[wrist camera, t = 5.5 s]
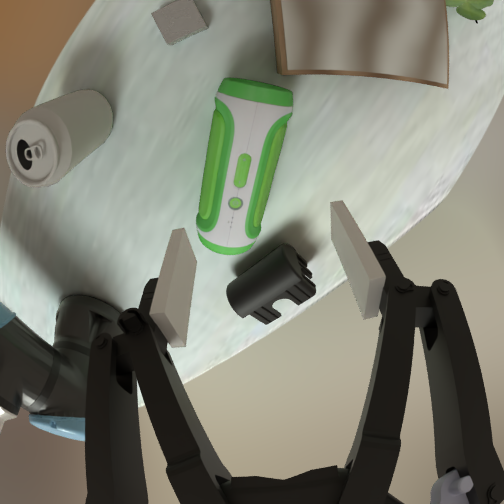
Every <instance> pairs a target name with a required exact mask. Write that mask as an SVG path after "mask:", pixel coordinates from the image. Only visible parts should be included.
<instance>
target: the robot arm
mask: <svg viewBox="0 0 504 504" xmlns="http://www.w3.org/2000/svg"><path fill="white" fill-rule="evenodd" d="M330 206H331V240H332V242H333V244H334V247H335V249H336V251H337V254H338V256H339V258H340V261H341V263H342V266H343V268H344V271H345V273H346V275H347V278H348V280H349V283H350V285H351V288H352V290H353V293H354V295H355V298H356V301H357V303H358V306H359V309H360V312H361V314H362V317H363V319H368V318H372V317H377V316H378V312H379V309H380V312H381V314H382V319H381V324H380V327H379V330H380V331H379V337H378V343H377V349H376V355H375V360H374V364H373V369H372V374H371V379H370V384H369V387H368V392H367V396H366V400H365V404H364V408H363V411H362V415H361V419H360V422H359V426H358V429H357V433H356V436H355V440H354V443H353V446H352V448H351V451H350V453H349V456H348V458H347V462H346V464H345V467H344V468H337V465H336V466H331V467H325V468H320V469H314V470H310V471H307V472H305V473H302V474H299V475H297V476H294V477H291V478H288V479H285V480H280V479H273V478H265V477H259V476H249V477H232V476H231V474H230V473H229V472H228V470H227V469H226V467H225V466H224V465H223V464H222V462H221V461H220V459H219V457H218V456H217V454H216V452H215V450H214V448H213V446H212V444H211V442H210V440H209V439H208V437H207V435H206V433H205V431H204V429H203V427H202V425H201V423H200V421H199V419H198V417H197V415H196V412H195V410H194V408H193V406H192V404H191V402H190V400H189V398H188V395H187V393H186V391H185V389H184V387H183V384H182V382H181V380H180V377H179V375H178V373H177V370H176V368H175V366H174V363H173V361H172V358H171V356H170V353H169V352H168V350H167V343H169V344H170V346H171V347H172V348H176V347H186V340H187V331H188V323H189V315H190V308H191V300H192V293H193V286H194V279H195V272H196V266H197V260H196V258H195V255H194V252H193V250H192V247H191V245H190V242H189V239H188V237H187V234H186V231H185V228H180V229H175V230H172V234H171V237H170V240H169V243H168V247H167V250H166V254H165V257H164V260H163V264H162V267H161V271H160V275H159V278H154V279H150V280H149V281H148V283H147V284H146V285H145V288H144V291H143V295H142V298H141V301H140V305H139V308H138V309H137V308H129V309H127V310H125V311H124V312H122V313H121V314H120V313H119V312H118V311H117V310H115V309H114V308H113V307H111V306H110V305H108V304H106V303H104V302H102V301H100V300H97V299H95V298H92V297H88V296H82V295H74V296H69V297H67V298H65V299H64V300H63V301H62V302H61V304H60V306H59V308H58V310H57V313H56V326H55V337H54V344H53V347H52V346H51V345H50V344H48V343H47V342H46V341H45V340H43V339H42V338H41V337H40V336H38V335H37V334H36V333H35V332H34V331H33V330H31V329H30V328H29V327H28V326H27V325H26V324H25V323H23V322H22V321H21V320H20V319H19V318H18V317H17V316H16V313H14V312H11V311H10V310H9V309H8V308H7V307H6V306H5V305H3V304H2V303H1V302H0V433H1V430H2V427H3V424H4V422H5V421H6V420H9V419H13V418H16V417H17V415H18V412H19V409H20V407H22V408H24V409H25V410H27V411H29V412H30V414H29V421H30V423H31V424H32V425H35V426H36V427H38V428H40V429H43V430H45V431H48V432H50V433H53V434H56V435H60V436H63V437H66V438H70V439H75V440H81V441H85V461H86V478H87V491H88V494H87V498H86V503H85V504H148V494H147V487H146V480H145V474H144V466H143V458H142V449H141V440H140V429H139V416H138V399H137V381H138V384H139V387H140V390H141V394H142V397H143V400H144V403H145V406H146V408H147V412H148V414H149V417H150V420H151V423H152V426H153V428H154V431H155V434H156V436H157V439H158V441H159V444H160V446H161V449H162V451H163V454H164V456H165V458H166V461H167V468H166V473H167V476H168V479H169V481H170V483H171V485H172V487H173V489H174V492H175V494H176V496H177V498H178V500H179V502H180V504H404V503H402V502H401V501H399V500H398V499H397V498H395V497H394V496H392V495H391V494H389V493H388V490H389V487H390V484H391V481H392V477H393V474H394V471H395V467H396V463H397V460H398V456H399V452H400V447H401V440H400V432H401V428H402V423H403V418H404V413H405V407H406V401H407V395H408V389H409V382H410V375H411V367H412V357H413V346H414V334H415V327H419V329H420V334H421V339H422V344H423V349H424V354H425V360H426V365H427V372H428V379H429V386H430V393H431V401H432V411H433V422H434V437H435V457H436V468H437V474H438V478H439V479H438V480H437V481H436V482H435V483H434V485H433V487H432V489H431V503H430V504H500V503H501V502H502V501H503V500H504V470H503V468H502V465H501V463H500V460H499V458H498V455H497V453H496V451H495V448H494V446H493V442H492V432H491V424H490V416H489V410H488V404H487V398H486V393H485V387H484V382H483V378H482V373H481V369H480V365H479V362H478V357H477V353H476V349H475V346H474V343H473V339H472V336H471V332H470V329H469V326H468V323H467V320H466V317H465V314H464V311H463V308H462V305H461V302H460V300H459V297H458V294H457V292H456V289H455V287H454V286H453V284H452V283H450V282H449V281H447V280H443V279H439V280H435V281H434V282H433V283H432V286H431V287H424V286H416V285H415V284H414V283H413V282H412V281H411V280H409V279H407V278H404V276H403V274H402V273H401V271H400V269H399V267H398V266H397V264H396V262H395V261H394V259H393V257H392V256H391V254H390V253H389V251H388V249H387V247H386V246H385V245H384V244H383V243H381V242H380V241H379V240H378V241H372V242H367V241H366V239H365V237H364V235H363V234H362V232H361V230H360V229H359V227H358V225H357V224H356V222H355V220H354V218H353V217H352V215H351V214H350V212H349V210H348V209H347V207H346V205H345V204H344V202H343V201H335V202H330Z"/></svg>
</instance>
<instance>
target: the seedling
mask: <svg viewBox="0 0 504 504" xmlns="http://www.w3.org/2000/svg"><path fill="white" fill-rule="evenodd" d="M445 1H446V6H449V7H457V6H458V7H457V9H456V11H457V13H458V14H460V15H461V16H463V17H465V18H467V19H470V20H475V21H476V23H477V24H478V22H477V20H481V19H483V18H484V17H485V16H486V14H485V12H484V11H483V10H481V9H483V8H485V7H487V6H491V5H492V4H493V1H494V0H445ZM461 4H462V5H461Z"/></svg>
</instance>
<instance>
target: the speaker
mask: <svg viewBox="0 0 504 504" xmlns="http://www.w3.org/2000/svg"><path fill="white" fill-rule="evenodd" d="M215 104H216V109H215V110H214V113H213V119H212V125H211V131H210V137H209V143H208V149H207V155H206V163H205V168H204V175H203V182H202V188H201V195H200V202H199V213H198V214H197V217H196V225H197V231H198V236H199V239H200V241H201V242H202V244H203V245H204V246H205V247H207V248H208V249H210V250H212V251H214V252H216V253H220V254H225V255H236V254H241V253H244V252H246V251H248V250H249V249H250V248H251V247H252V245H253V244H254V242H255V241H256V239H257V237H258V235H259V233H260V231H261V221H262V218H263V214H264V211H265V207H266V203H267V200H268V196H269V192H270V188H271V184H272V180H273V177H274V173H275V169H276V166H277V162H278V158H279V155H280V151H281V147H282V143H283V140H284V136H285V132H286V128H287V121H288V120H289V118H290V117H291V116H292V109H293V94H292V92H291V91H290V90H288V89H285V88H281V87H278V86H275V85H270V84H266V83H262V82H257V81H252V80H246V79H239V78H224V79H223V81H222V83H221V85H220V87H219V89H218V91H217V94H216V97H215Z"/></svg>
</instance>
